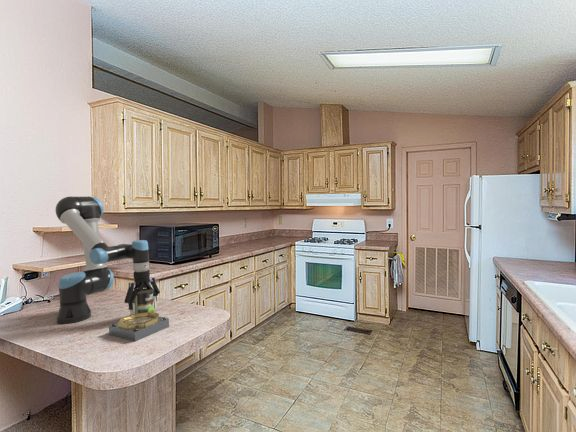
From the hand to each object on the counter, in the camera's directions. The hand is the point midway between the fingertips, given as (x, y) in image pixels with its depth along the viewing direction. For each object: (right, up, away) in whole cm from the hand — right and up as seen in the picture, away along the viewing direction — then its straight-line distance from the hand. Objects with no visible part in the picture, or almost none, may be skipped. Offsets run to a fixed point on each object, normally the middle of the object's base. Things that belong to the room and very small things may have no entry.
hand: (143, 311), depth 168 cm
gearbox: (+6, -3, -18) cm, 19 cm away
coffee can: (0, -3, 0) cm, 3 cm away
